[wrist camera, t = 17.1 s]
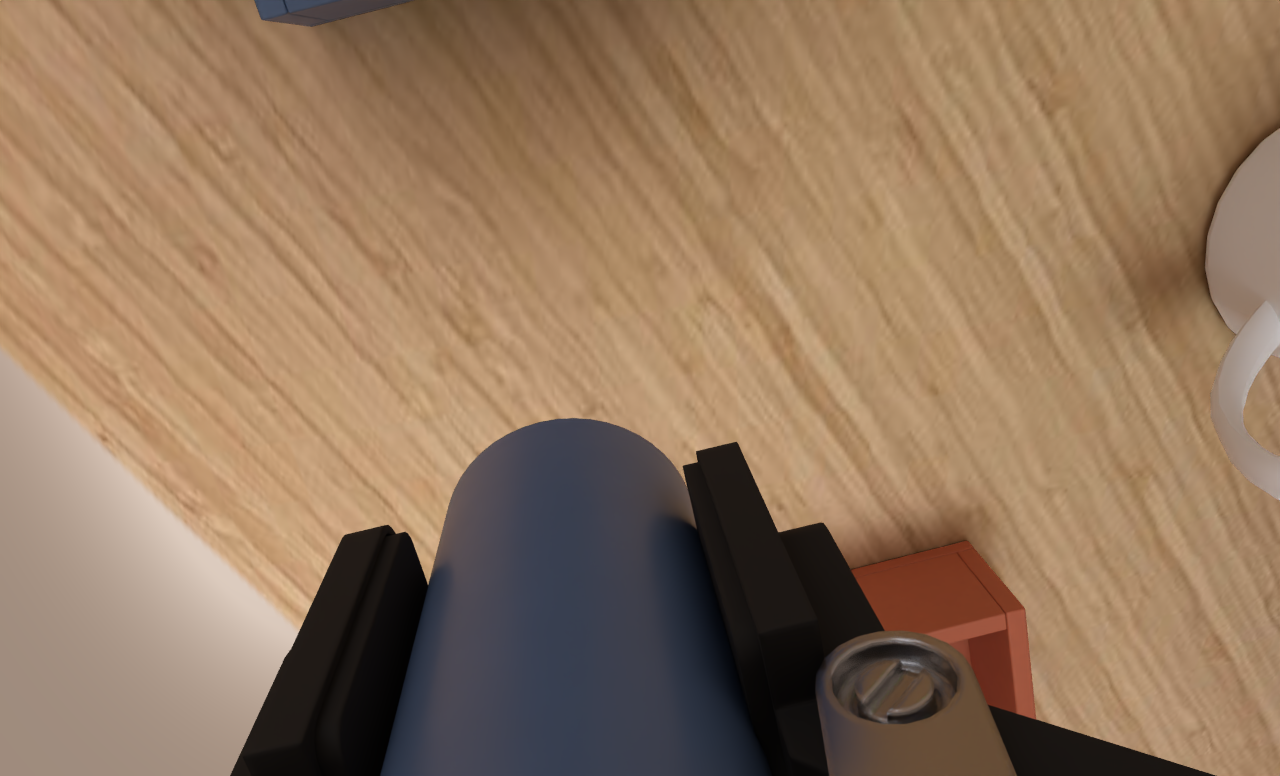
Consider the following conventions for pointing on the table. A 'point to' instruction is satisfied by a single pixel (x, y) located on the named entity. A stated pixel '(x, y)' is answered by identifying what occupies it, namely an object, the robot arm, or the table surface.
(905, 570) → the terracotta bin
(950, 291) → the table surface
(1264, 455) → the mug
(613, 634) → the slate peg
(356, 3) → the slate bin
